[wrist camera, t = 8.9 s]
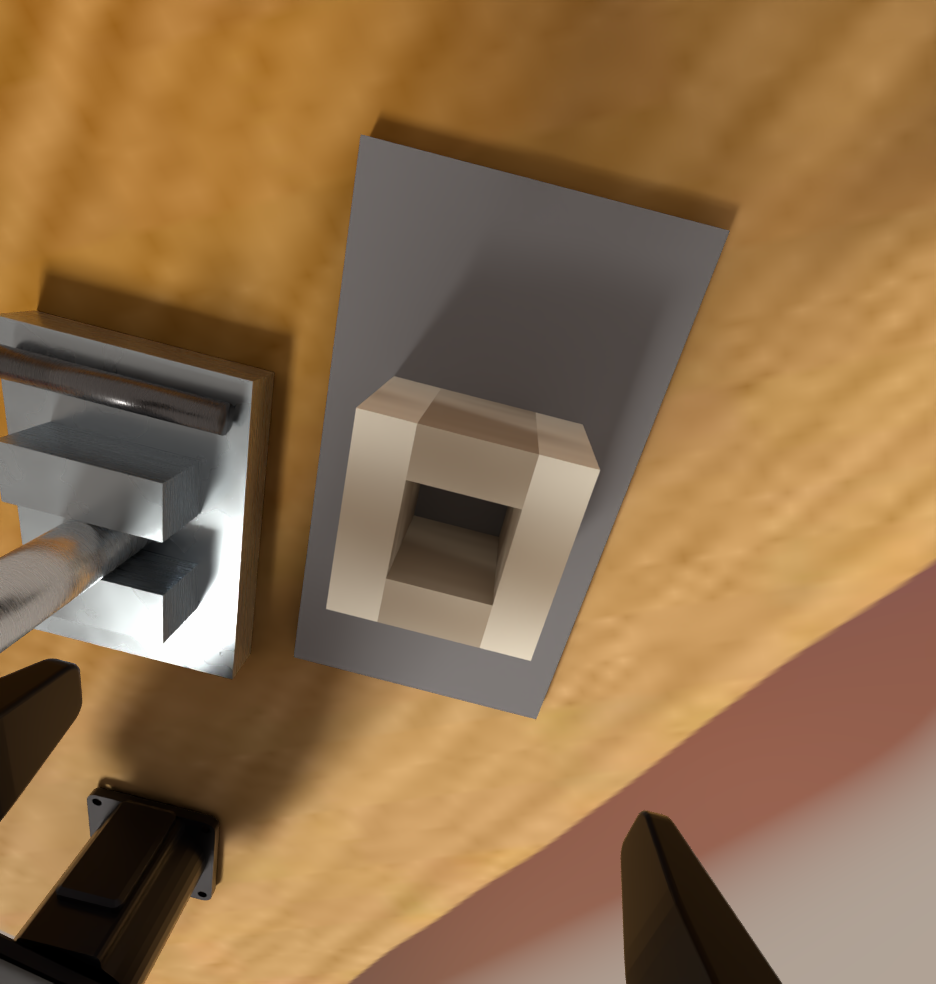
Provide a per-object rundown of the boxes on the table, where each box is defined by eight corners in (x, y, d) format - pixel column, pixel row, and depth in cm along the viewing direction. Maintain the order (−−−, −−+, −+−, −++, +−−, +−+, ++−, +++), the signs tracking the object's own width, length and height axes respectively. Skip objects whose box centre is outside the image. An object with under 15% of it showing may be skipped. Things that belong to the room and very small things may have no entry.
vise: (250, 653, 22) (126, 829, 15) (64, 606, 22) (-146, 759, 15) (274, 372, 17) (107, 442, 10) (35, 310, 17) (-293, 339, 10)
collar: (529, 583, 19) (530, 660, 15) (365, 541, 19) (325, 609, 15) (582, 424, 16) (600, 470, 13) (393, 376, 16) (355, 407, 13)
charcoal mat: (535, 707, 22) (535, 719, 21) (299, 647, 22) (293, 657, 21) (721, 232, 14) (729, 230, 14) (366, 139, 14) (361, 133, 14)
